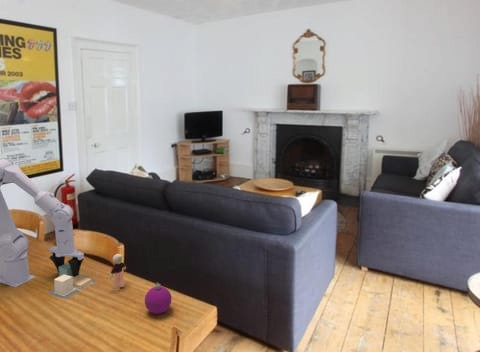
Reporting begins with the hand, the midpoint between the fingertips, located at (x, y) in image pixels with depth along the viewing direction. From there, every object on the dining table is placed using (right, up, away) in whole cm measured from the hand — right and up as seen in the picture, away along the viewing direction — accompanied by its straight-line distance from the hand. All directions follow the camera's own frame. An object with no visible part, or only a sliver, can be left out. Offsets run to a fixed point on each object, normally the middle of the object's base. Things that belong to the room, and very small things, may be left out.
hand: (68, 274), depth 134 cm
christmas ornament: (+37, -7, -19) cm, 42 cm away
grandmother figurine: (+21, -3, -5) cm, 22 cm away
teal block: (0, -2, 0) cm, 2 cm away
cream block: (+3, -3, -9) cm, 10 cm away
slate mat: (+4, -3, -6) cm, 8 cm away
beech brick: (+5, -2, -4) cm, 7 cm away
